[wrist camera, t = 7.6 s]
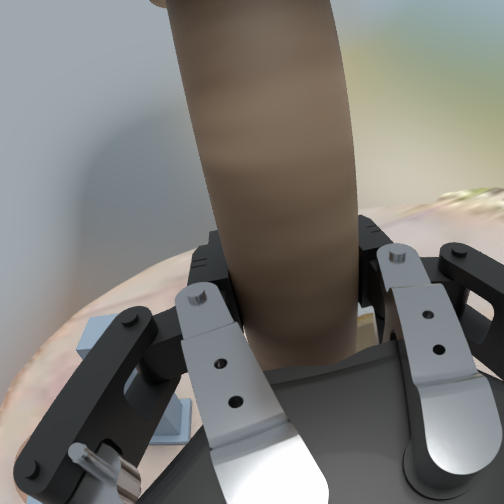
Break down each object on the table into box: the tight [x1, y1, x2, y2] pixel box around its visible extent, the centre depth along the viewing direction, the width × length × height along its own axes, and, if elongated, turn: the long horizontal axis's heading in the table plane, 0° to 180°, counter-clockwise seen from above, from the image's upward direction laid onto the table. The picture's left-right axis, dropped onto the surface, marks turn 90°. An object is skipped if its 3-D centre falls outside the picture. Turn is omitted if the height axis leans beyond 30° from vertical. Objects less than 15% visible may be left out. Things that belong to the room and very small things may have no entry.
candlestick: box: [150, 0, 359, 371], centre depth 10 cm, size 6×6×22 cm
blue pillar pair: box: [26, 313, 192, 504], centre depth 17 cm, size 19×5×13 cm, turn 4°
